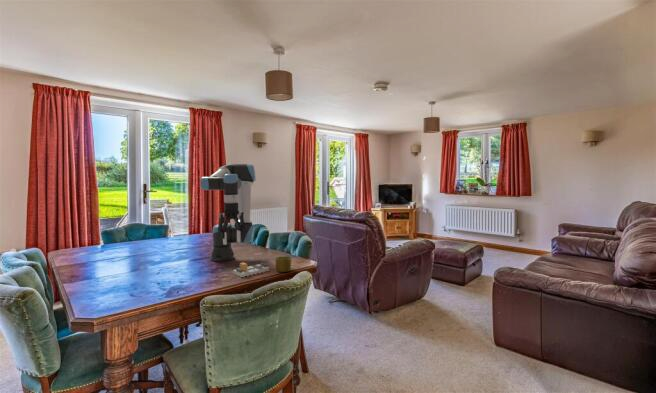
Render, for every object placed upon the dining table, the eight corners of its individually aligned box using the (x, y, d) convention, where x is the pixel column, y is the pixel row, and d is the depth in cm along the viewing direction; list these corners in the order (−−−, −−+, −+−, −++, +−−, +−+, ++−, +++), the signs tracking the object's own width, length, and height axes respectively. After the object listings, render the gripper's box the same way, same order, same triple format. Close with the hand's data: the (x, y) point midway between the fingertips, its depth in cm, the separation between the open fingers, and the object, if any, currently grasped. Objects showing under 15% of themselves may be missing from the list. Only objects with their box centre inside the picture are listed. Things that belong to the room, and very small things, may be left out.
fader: (239, 269, 185) (239, 263, 184) (243, 268, 186) (243, 262, 186) (243, 271, 182) (243, 264, 181) (247, 270, 183) (247, 263, 183)
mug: (290, 271, 184) (286, 254, 186) (274, 275, 186) (270, 258, 188) (298, 269, 196) (294, 253, 197) (282, 272, 198) (279, 257, 200)
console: (233, 273, 185) (233, 267, 185) (260, 267, 197) (260, 261, 197) (241, 277, 178) (241, 271, 178) (269, 270, 190) (269, 265, 190)
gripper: (216, 204, 166) (217, 247, 168) (251, 201, 180) (251, 241, 182) (210, 202, 171) (211, 244, 173) (244, 200, 185) (245, 239, 187)
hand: (231, 243), depth 178 cm, fingers open, 8 cm apart
